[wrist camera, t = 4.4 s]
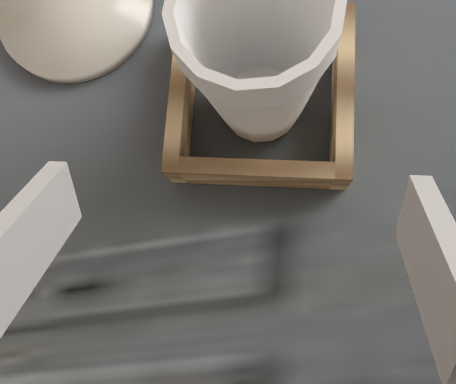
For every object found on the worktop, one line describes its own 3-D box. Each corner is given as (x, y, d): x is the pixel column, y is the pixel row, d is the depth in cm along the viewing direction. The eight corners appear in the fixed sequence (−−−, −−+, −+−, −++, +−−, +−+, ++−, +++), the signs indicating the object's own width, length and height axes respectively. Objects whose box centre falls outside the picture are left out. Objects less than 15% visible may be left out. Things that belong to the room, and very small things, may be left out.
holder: (345, 189, 32) (353, 179, 29) (172, 182, 34) (160, 171, 31) (347, 29, 35) (355, 2, 31) (186, 29, 36) (177, 3, 33)
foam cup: (316, 47, 35) (340, -85, 22) (325, 156, 33) (356, 80, 20) (201, 57, 36) (161, -64, 23) (204, 163, 34) (161, 96, 21)
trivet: (180, 34, 36) (177, 28, 35) (35, 111, 36) (29, 107, 36) (115, -84, 40) (111, -93, 39) (-18, -13, 40) (-25, -20, 39)
